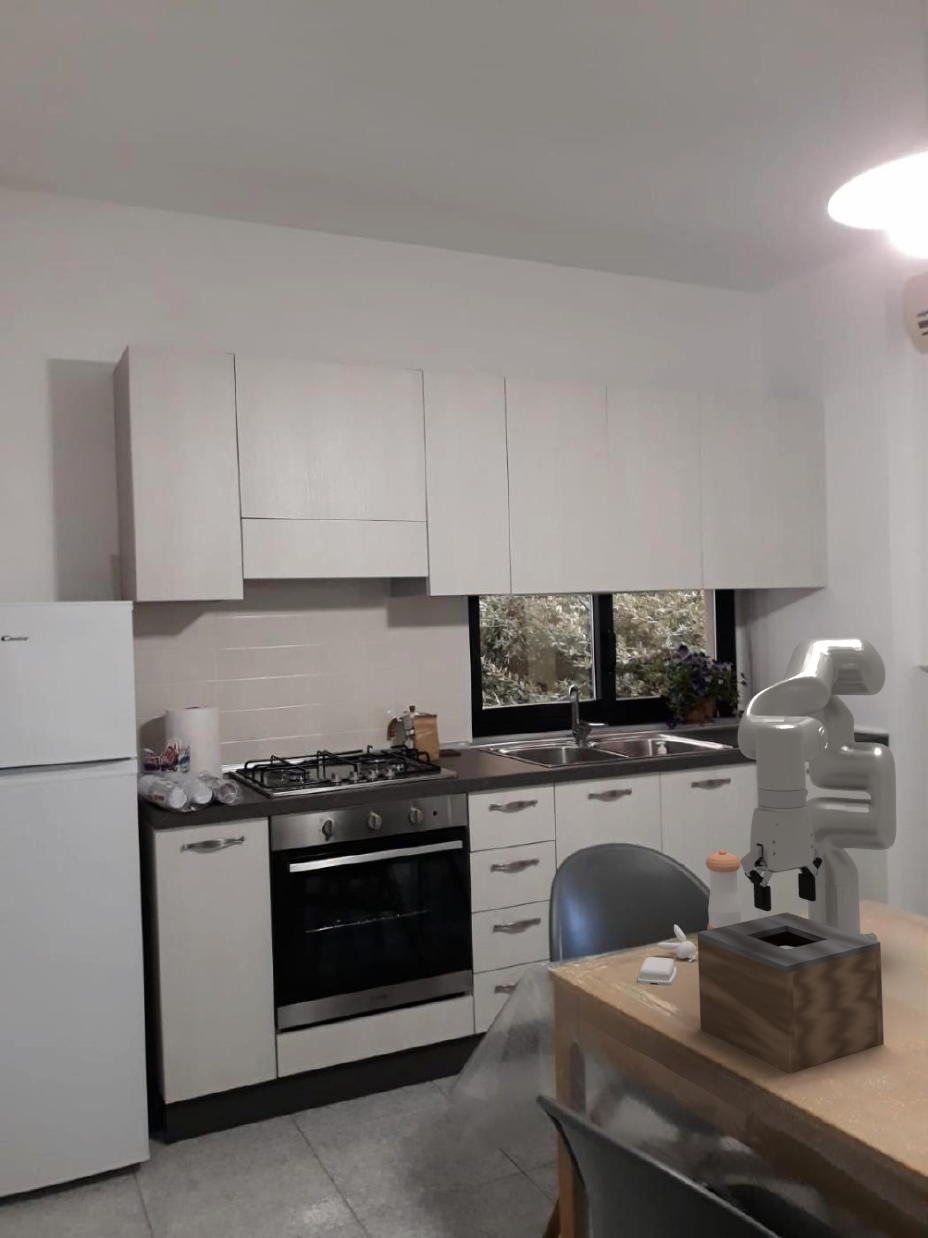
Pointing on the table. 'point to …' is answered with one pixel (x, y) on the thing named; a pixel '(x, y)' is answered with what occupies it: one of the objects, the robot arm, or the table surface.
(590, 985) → the table surface
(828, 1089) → the table surface
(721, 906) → the pepper shaker
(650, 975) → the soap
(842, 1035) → the slot box
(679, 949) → the rabbit figurine
